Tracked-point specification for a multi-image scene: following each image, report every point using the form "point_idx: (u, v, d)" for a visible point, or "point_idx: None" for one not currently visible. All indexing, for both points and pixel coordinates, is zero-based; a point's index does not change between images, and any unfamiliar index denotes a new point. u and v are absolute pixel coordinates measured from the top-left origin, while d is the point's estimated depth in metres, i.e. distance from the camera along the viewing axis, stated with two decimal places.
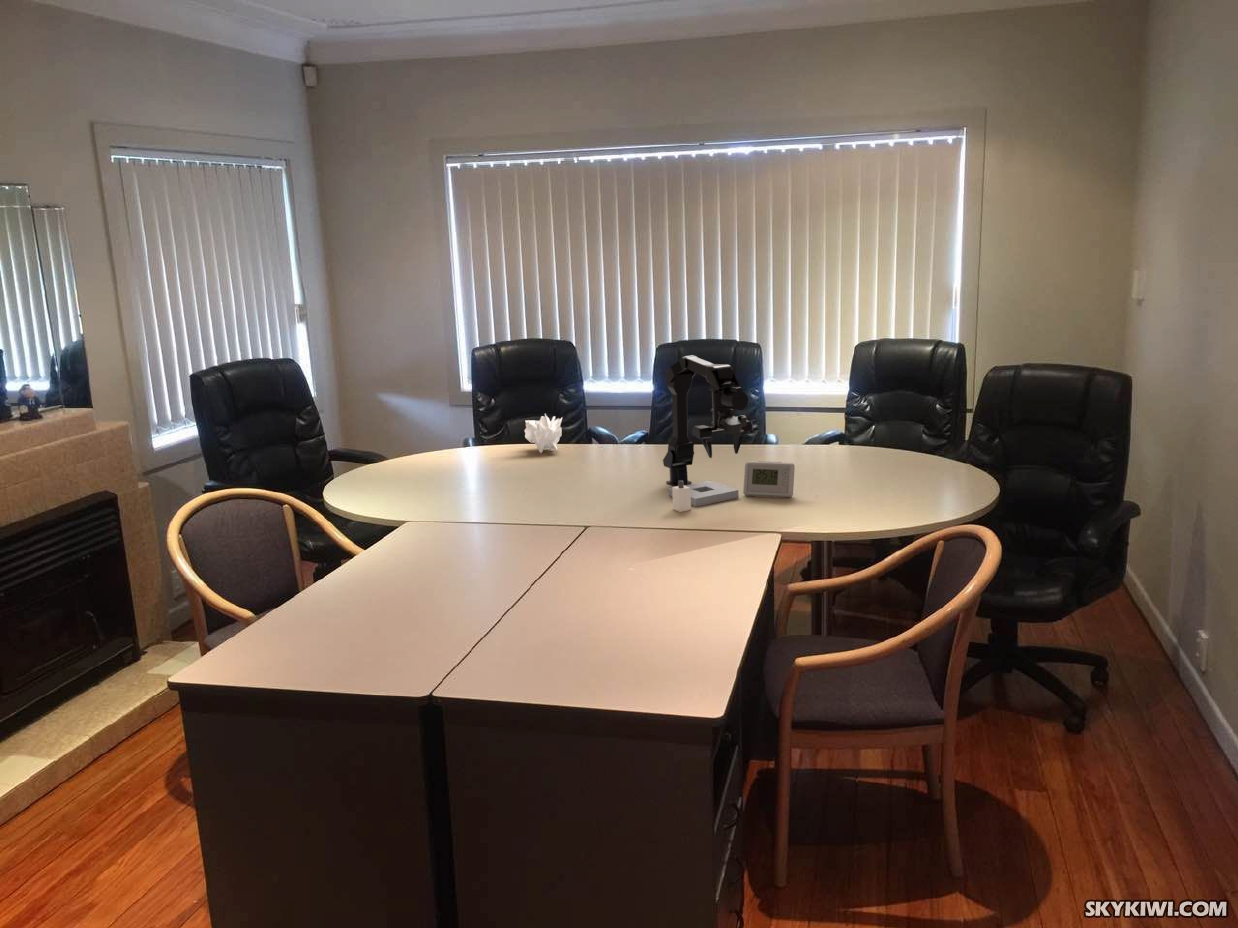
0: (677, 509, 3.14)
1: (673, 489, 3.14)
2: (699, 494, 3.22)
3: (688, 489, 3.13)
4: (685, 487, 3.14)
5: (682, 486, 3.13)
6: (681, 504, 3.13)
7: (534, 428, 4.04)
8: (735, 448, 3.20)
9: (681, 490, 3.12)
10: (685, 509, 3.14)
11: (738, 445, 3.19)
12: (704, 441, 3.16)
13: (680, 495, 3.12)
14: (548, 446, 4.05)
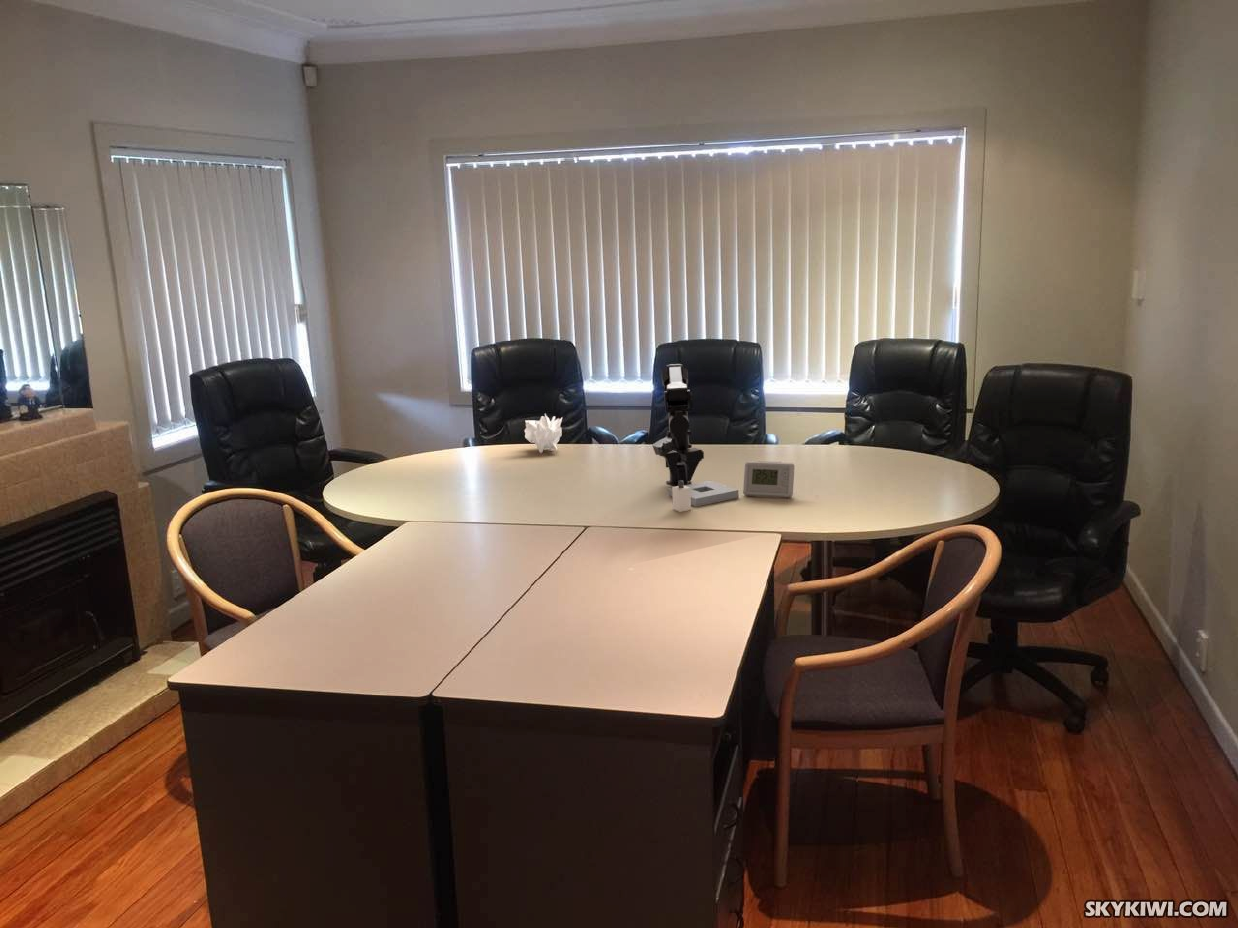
0: (677, 509, 3.14)
1: (673, 489, 3.14)
2: (699, 494, 3.22)
3: (688, 489, 3.13)
4: (685, 487, 3.14)
5: (682, 486, 3.13)
6: (681, 504, 3.13)
7: (534, 428, 4.04)
8: None
9: (681, 490, 3.12)
10: (685, 509, 3.14)
11: (686, 473, 3.08)
12: None
13: (680, 495, 3.12)
14: (548, 446, 4.05)
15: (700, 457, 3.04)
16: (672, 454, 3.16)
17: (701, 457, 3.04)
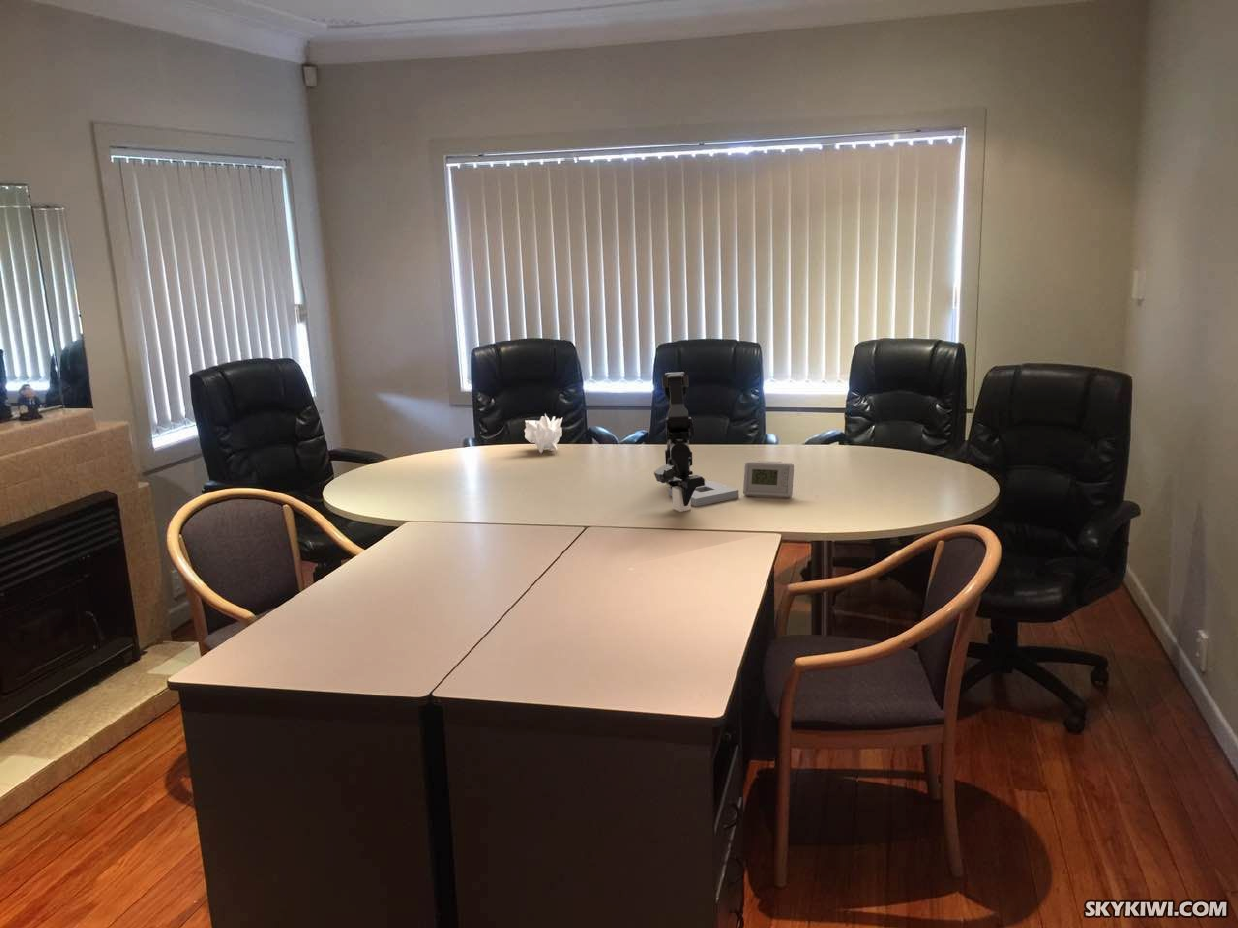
0: (677, 509, 3.14)
1: (673, 489, 3.14)
2: (699, 494, 3.22)
3: None
4: None
5: None
6: (681, 504, 3.13)
7: (534, 428, 4.04)
8: None
9: None
10: (685, 509, 3.14)
11: (683, 498, 3.12)
12: None
13: (680, 495, 3.12)
14: (548, 446, 4.05)
15: (701, 484, 3.06)
16: (677, 482, 3.16)
17: (702, 484, 3.06)
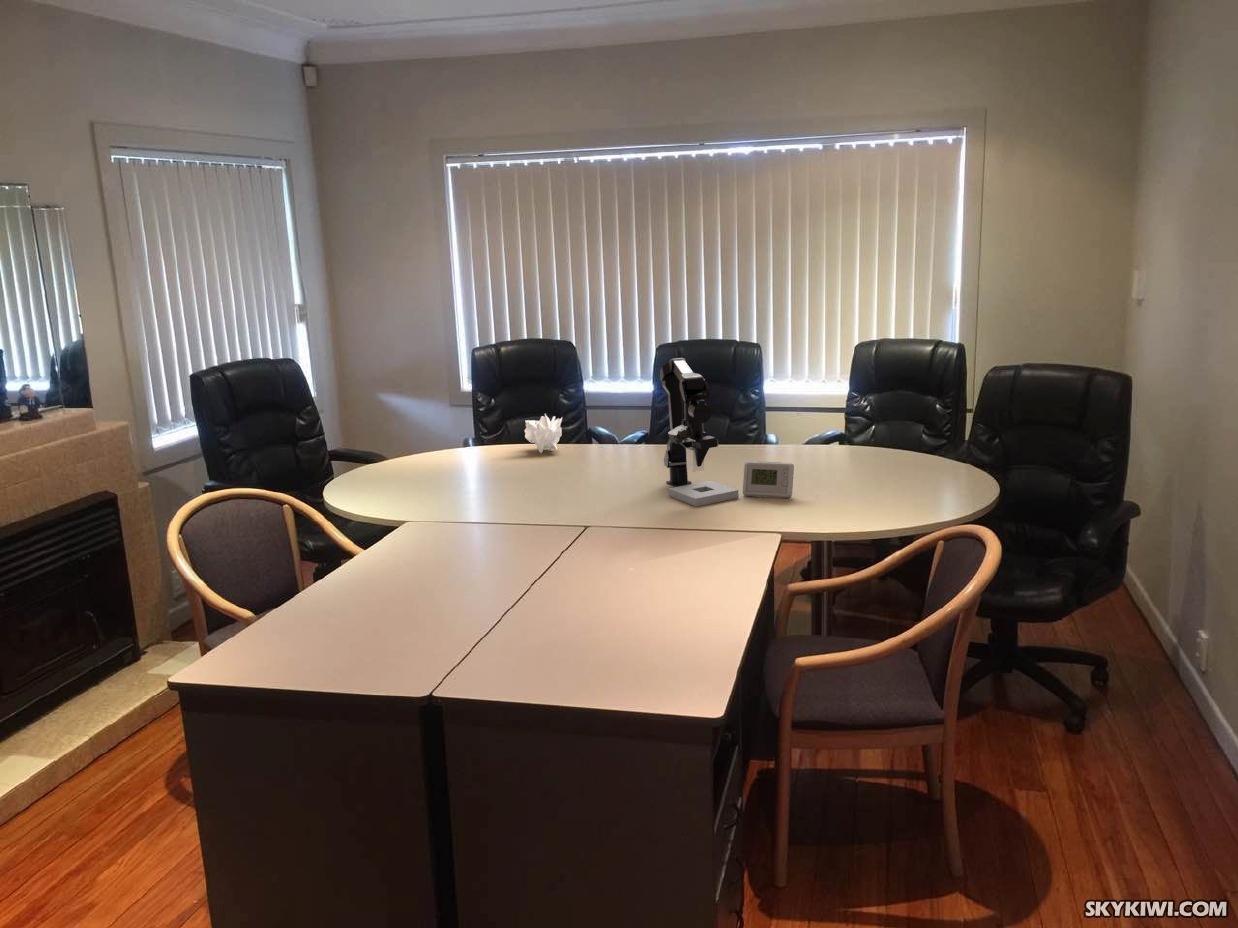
0: (690, 469, 3.21)
1: (687, 450, 3.21)
2: (699, 494, 3.22)
3: None
4: None
5: None
6: (694, 464, 3.20)
7: (534, 428, 4.04)
8: None
9: None
10: (698, 469, 3.21)
11: (696, 458, 3.19)
12: None
13: (694, 456, 3.19)
14: (548, 446, 4.05)
15: (714, 445, 3.13)
16: (691, 443, 3.23)
17: (715, 445, 3.13)
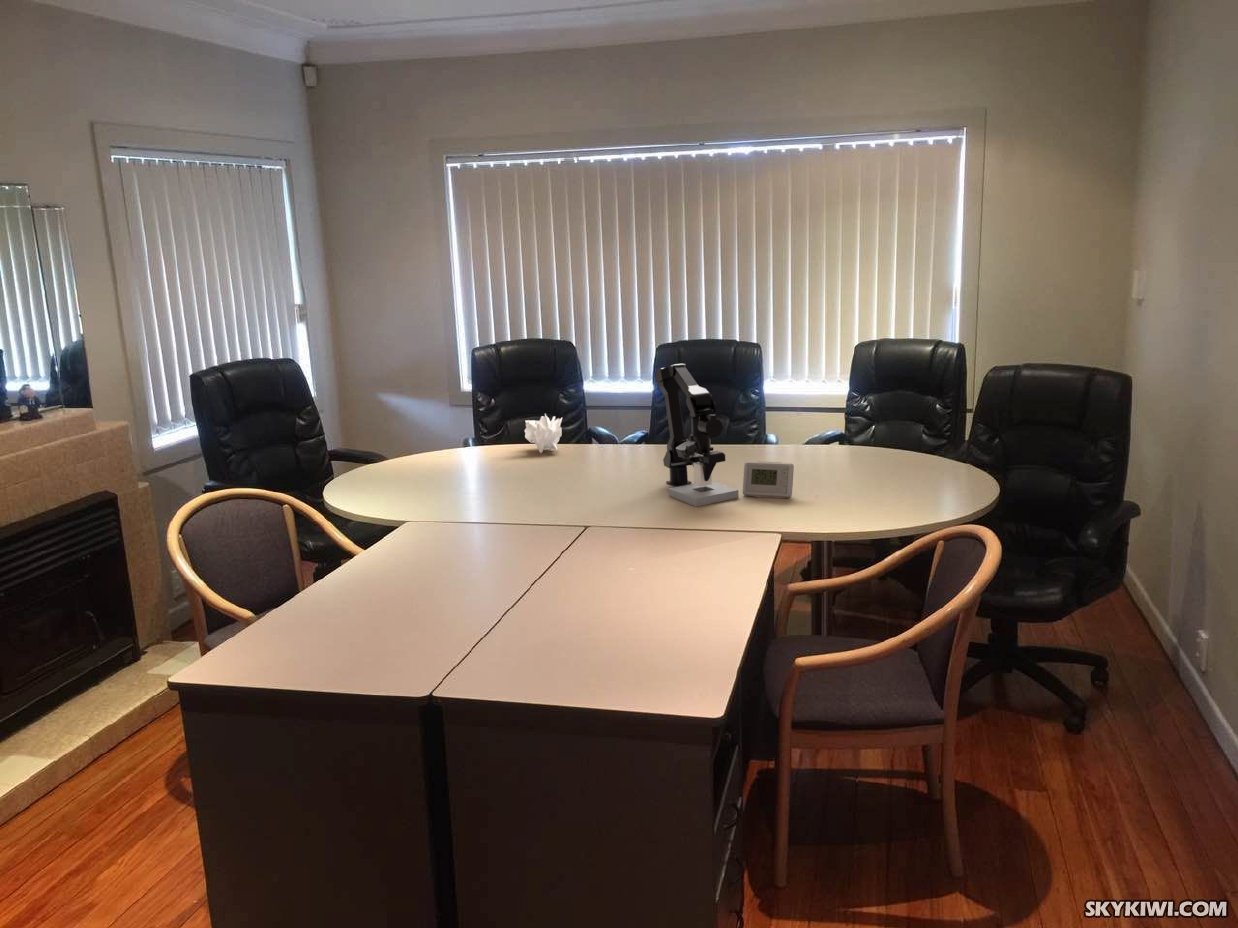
0: (698, 484, 3.26)
1: (694, 464, 3.26)
2: (699, 494, 3.22)
3: None
4: None
5: None
6: (702, 478, 3.25)
7: (534, 428, 4.04)
8: None
9: None
10: (706, 484, 3.26)
11: (704, 473, 3.24)
12: None
13: (701, 470, 3.24)
14: (548, 446, 4.05)
15: (722, 459, 3.18)
16: (698, 458, 3.28)
17: (723, 459, 3.18)
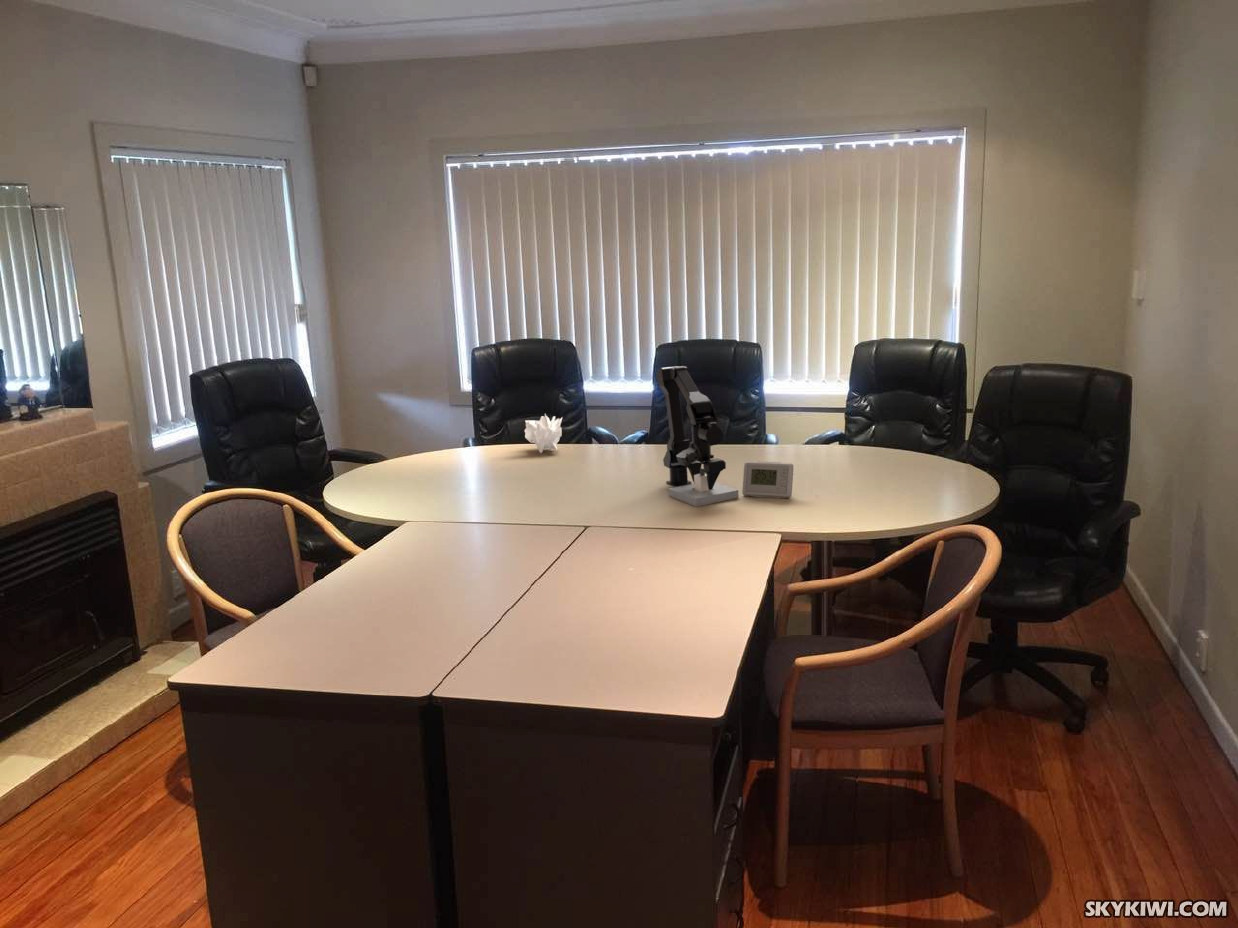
0: None
1: (695, 476, 3.27)
2: (699, 494, 3.22)
3: None
4: (706, 475, 3.26)
5: (704, 474, 3.26)
6: (702, 491, 3.25)
7: (534, 428, 4.04)
8: None
9: (703, 477, 3.25)
10: None
11: None
12: None
13: (702, 482, 3.25)
14: (548, 446, 4.05)
15: (722, 467, 3.18)
16: (695, 464, 3.30)
17: (723, 467, 3.19)
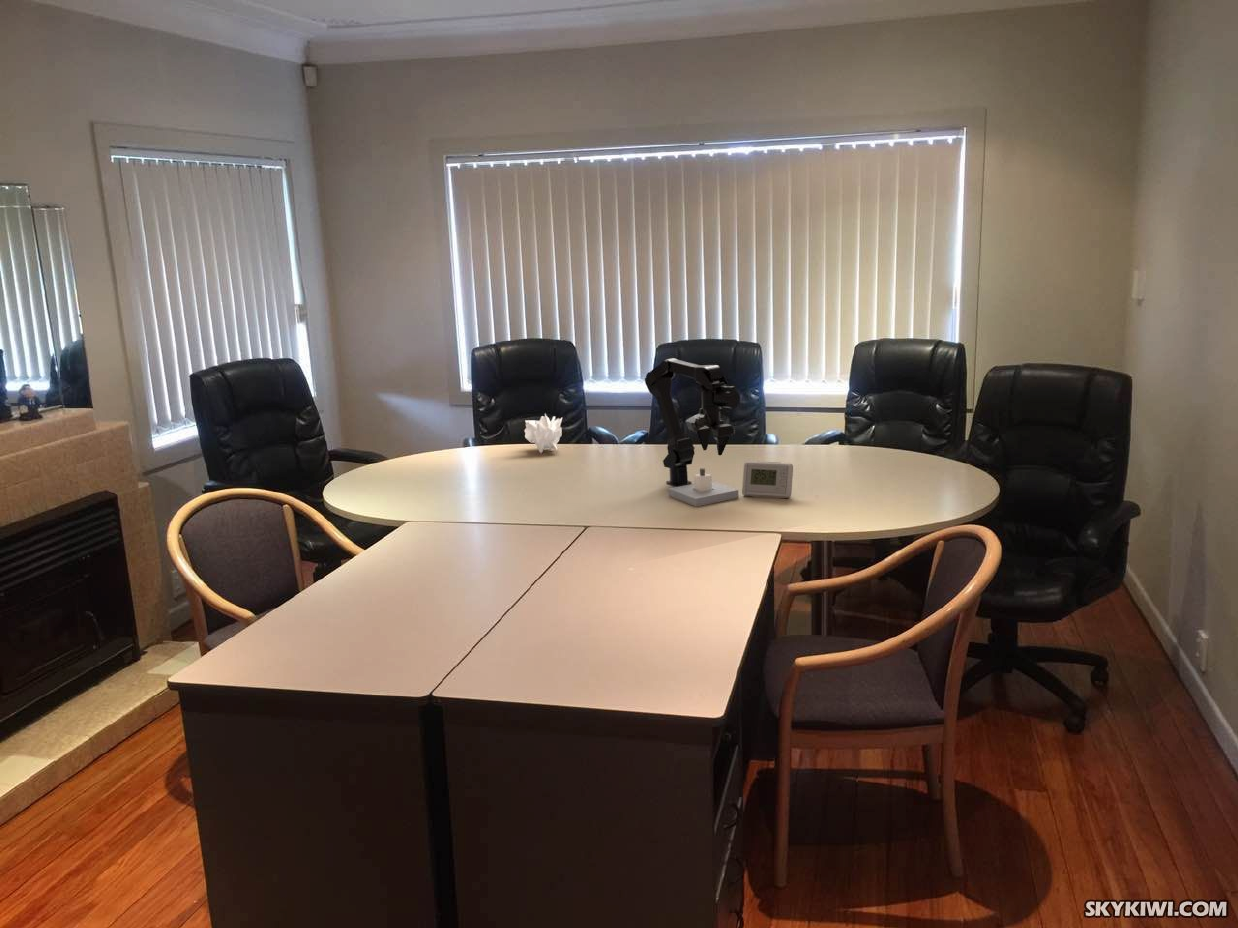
0: None
1: (695, 476, 3.27)
2: (699, 494, 3.22)
3: (709, 476, 3.26)
4: (706, 475, 3.26)
5: (704, 474, 3.26)
6: (702, 491, 3.25)
7: (534, 428, 4.04)
8: None
9: (703, 477, 3.25)
10: None
11: (717, 447, 3.26)
12: None
13: (702, 482, 3.25)
14: (548, 446, 4.05)
15: (731, 432, 3.22)
16: (704, 430, 3.35)
17: (732, 432, 3.22)
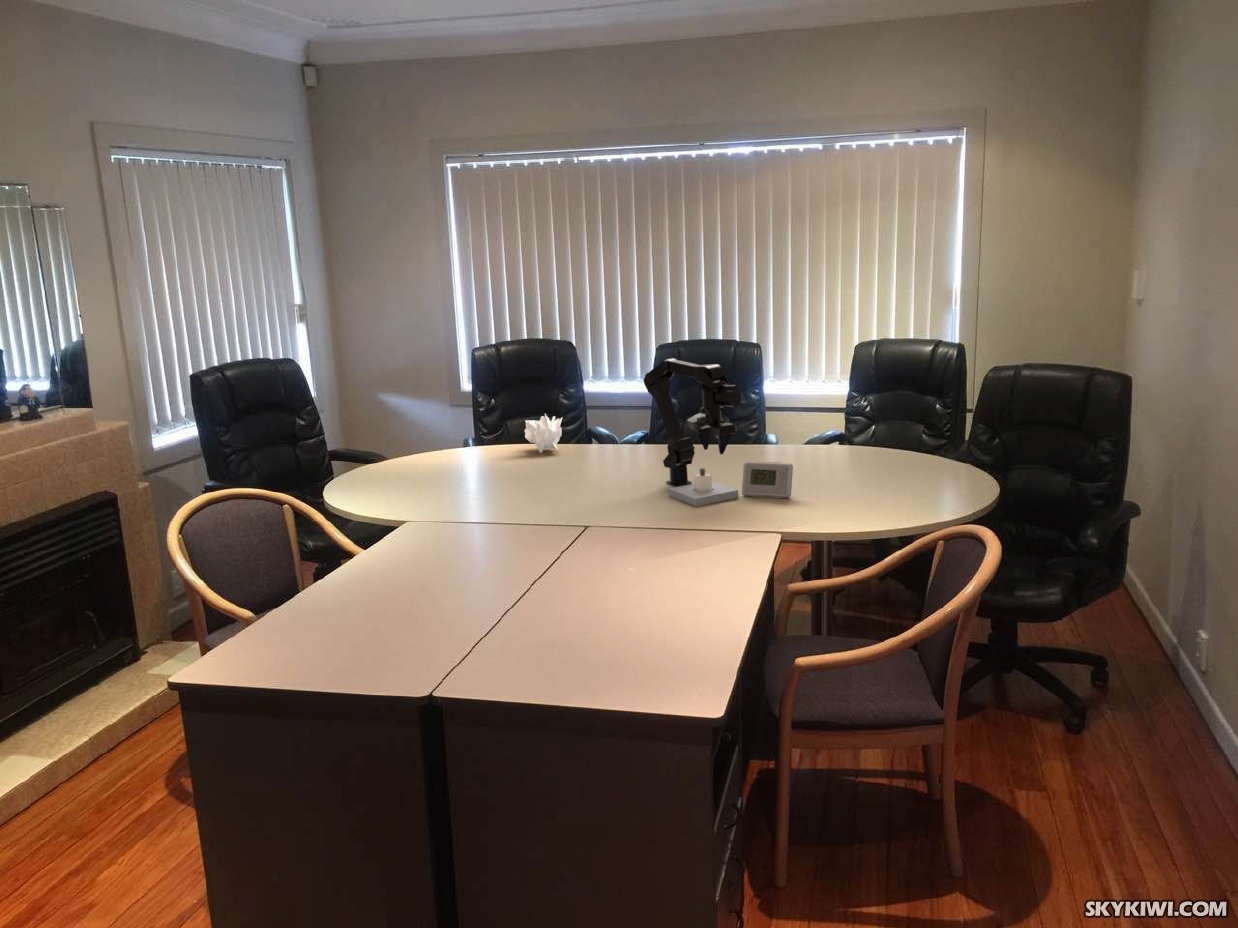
0: None
1: (695, 476, 3.27)
2: (699, 494, 3.22)
3: (709, 476, 3.26)
4: (706, 475, 3.26)
5: (704, 474, 3.26)
6: (702, 491, 3.25)
7: (534, 428, 4.04)
8: None
9: (703, 477, 3.25)
10: None
11: (719, 446, 3.27)
12: None
13: (702, 482, 3.25)
14: (548, 446, 4.05)
15: (733, 431, 3.23)
16: (705, 429, 3.35)
17: (733, 431, 3.23)
